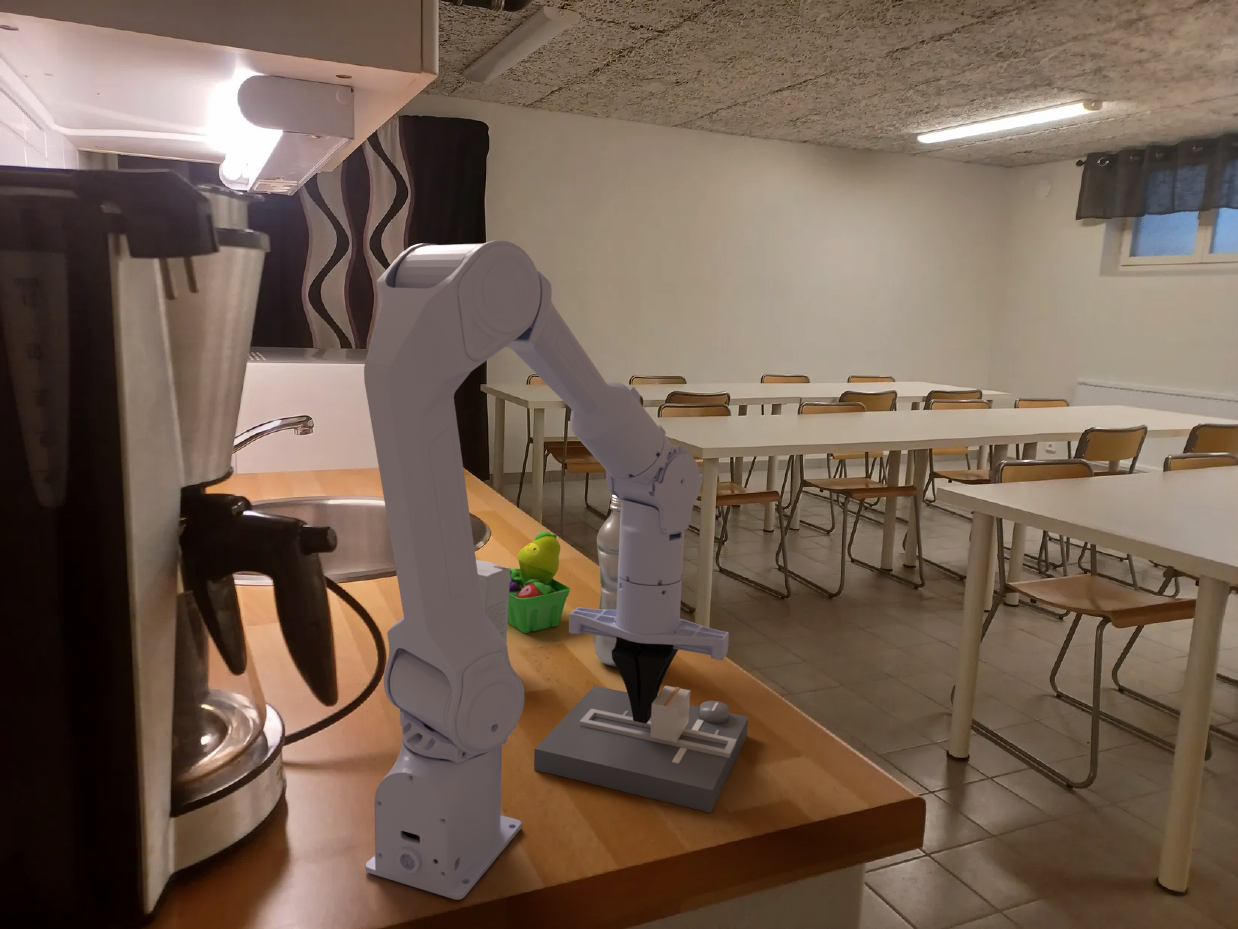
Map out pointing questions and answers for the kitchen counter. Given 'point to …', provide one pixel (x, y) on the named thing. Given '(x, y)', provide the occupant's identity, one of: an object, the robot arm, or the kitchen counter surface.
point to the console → (644, 750)
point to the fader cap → (670, 713)
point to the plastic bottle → (608, 575)
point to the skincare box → (494, 593)
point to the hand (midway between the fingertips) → (643, 717)
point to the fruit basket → (536, 586)
